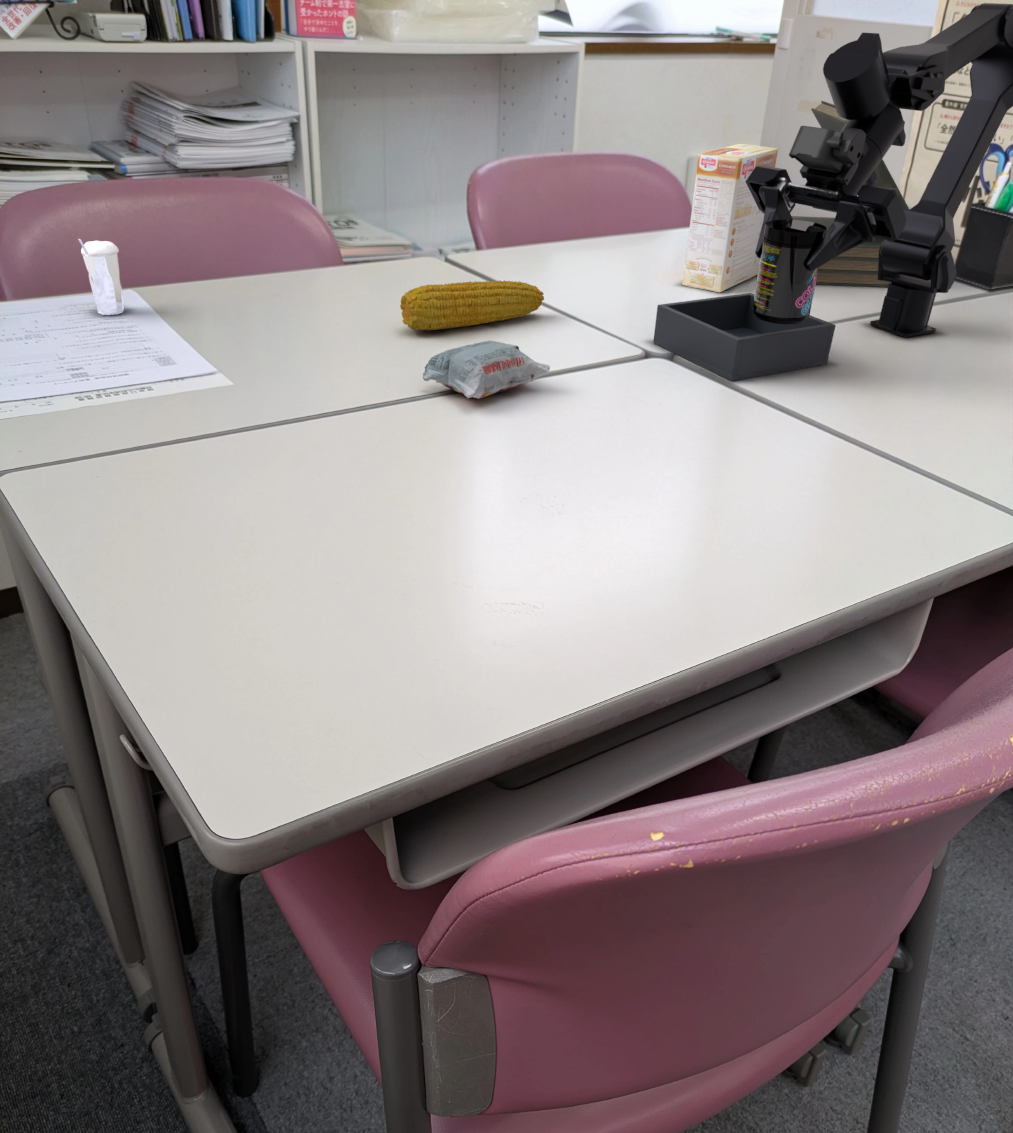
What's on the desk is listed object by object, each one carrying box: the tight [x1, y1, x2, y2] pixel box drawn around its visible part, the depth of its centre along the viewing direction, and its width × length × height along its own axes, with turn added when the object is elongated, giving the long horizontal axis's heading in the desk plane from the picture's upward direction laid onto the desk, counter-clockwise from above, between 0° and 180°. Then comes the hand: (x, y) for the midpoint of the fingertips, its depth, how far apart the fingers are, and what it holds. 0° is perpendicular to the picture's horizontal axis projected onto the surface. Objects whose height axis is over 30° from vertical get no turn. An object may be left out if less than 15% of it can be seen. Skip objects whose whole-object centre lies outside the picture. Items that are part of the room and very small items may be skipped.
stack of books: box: [791, 100, 911, 288], centre depth 156 cm, size 23×20×25 cm
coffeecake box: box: [681, 143, 779, 293], centre depth 147 cm, size 15×7×20 cm, turn 144°
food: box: [399, 280, 545, 331], centre depth 126 cm, size 21×6×6 cm, turn 123°
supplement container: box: [752, 220, 827, 324], centre depth 109 cm, size 7×7×10 cm
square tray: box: [652, 292, 836, 382], centre depth 120 cm, size 16×16×5 cm
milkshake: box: [77, 238, 125, 316], centre depth 124 cm, size 4×5×10 cm
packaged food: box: [422, 339, 551, 400], centre depth 105 cm, size 9×12×5 cm
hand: (782, 261), depth 108 cm, fingers closed on supplement container, 7 cm apart
